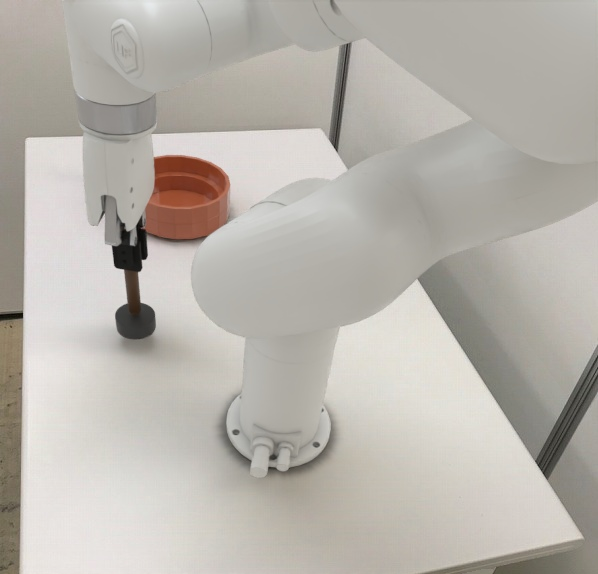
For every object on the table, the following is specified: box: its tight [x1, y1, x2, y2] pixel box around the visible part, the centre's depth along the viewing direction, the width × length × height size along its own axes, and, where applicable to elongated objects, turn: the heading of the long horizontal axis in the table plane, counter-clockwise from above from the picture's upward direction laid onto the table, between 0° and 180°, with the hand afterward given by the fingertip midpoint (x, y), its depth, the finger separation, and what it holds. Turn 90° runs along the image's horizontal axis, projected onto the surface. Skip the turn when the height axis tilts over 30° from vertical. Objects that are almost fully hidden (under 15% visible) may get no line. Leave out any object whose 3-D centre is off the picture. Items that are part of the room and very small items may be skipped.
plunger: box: [114, 226, 157, 341], centre depth 77 cm, size 5×5×16 cm
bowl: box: [141, 154, 231, 240], centre depth 104 cm, size 16×16×6 cm
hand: (131, 262), depth 76 cm, fingers closed on plunger
